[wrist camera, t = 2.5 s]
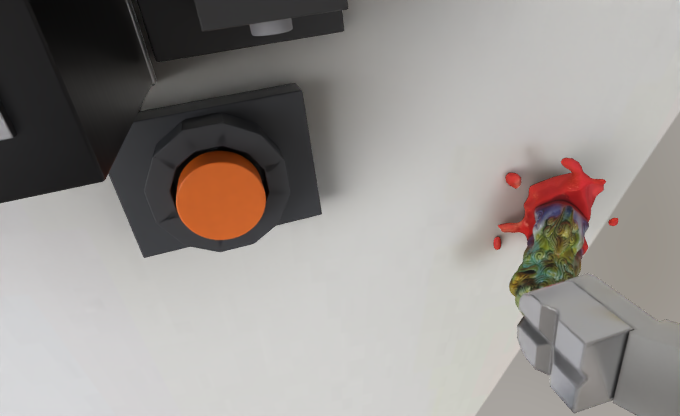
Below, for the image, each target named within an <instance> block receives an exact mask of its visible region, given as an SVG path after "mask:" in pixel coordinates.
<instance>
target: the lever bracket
mask: <svg viewBox="0 0 680 416" xmlns="http://www.w3.org/2000/svg"><path fill="white" fill-rule="evenodd" d="M137 2H138V5H139V8H140V11H141V14H142V18H143V21H144V24H145V27H146V30H147V33H148V37H149V40H150V43H151V46H152V49H153V52H154V56H155V59H156V61H157V62H162V61H168V60H174V59H180V58H186V57H192V56H198V55H204V54H210V53H216V52H223V51H229V50H235V49H241V48H247V47H253V46H259V45H265V44H271V43H277V42H283V41H289V40H295V39H301V38H307V37H313V36H319V35H325V34H331V33H338V32H343V31H344V24H343V14H342V10H346V9H348V2H347V0H137Z"/></svg>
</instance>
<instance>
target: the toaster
mask: <svg viewBox="0 0 680 416" xmlns="http://www.w3.org/2000/svg"><path fill="white" fill-rule="evenodd" d="M156 82H157V79H156V76H155V73H154V70H153V67H152V64H151V61H150V57H149V54H148V51H147V48H146V45H145V42H144V39H143V36H142V33H141V29H140V26H139V23H138V20H137V17H136V14H135V11H134V8H133V5H132V1H131V0H0V203H4V202H9V201H13V200H18V199H23V198H28V197H32V196H37V195H42V194H47V193H51V192H56V191H61V190H66V189H70V188H75V187H80V186H85V185H89V184H94V183H99V182H103V181H104V180H105V179H106V177H107V175H108V173H109V171H110V169H111V167H112V165H113V163H114V161H115V159H116V157H117V154H118V152H119V150H120V148H121V146H122V144H123V142H124V140H125V138H126V136H127V134H128V132H129V130H130V128H131V126H132V124H133V122H134V120H135V118H136V116H137V114H138V112H139V110H140V108H141V106H142V104H143V101H144V99H145V97H146V95H147V93H148V91H149V89H150V87H151V86H152V85H155V84H156Z"/></svg>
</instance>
